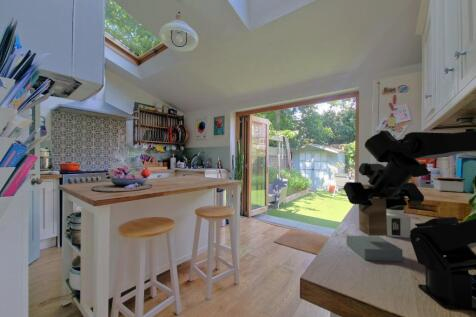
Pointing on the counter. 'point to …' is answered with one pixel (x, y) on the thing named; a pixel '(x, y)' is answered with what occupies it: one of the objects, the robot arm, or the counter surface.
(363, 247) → the plinth
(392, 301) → the counter surface
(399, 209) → the container
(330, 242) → the counter surface
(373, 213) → the post
